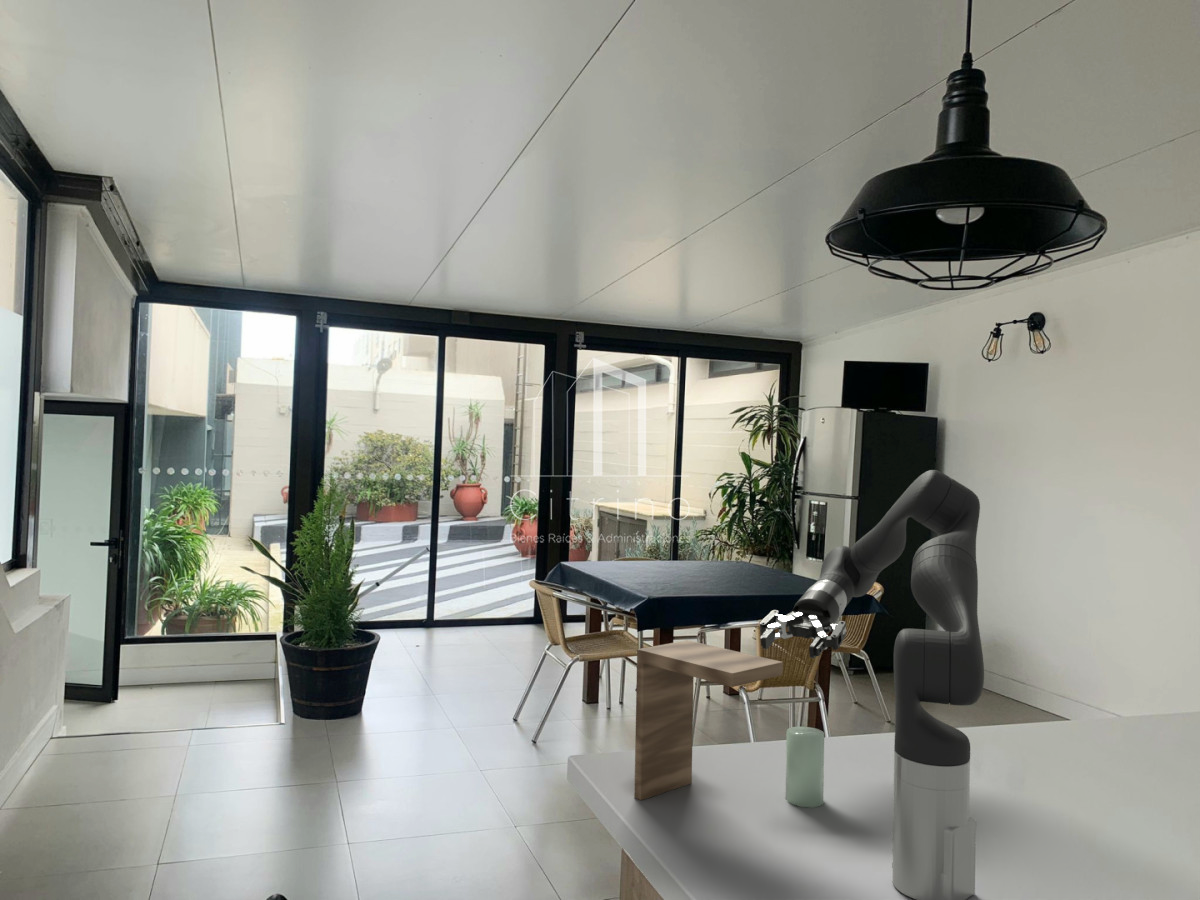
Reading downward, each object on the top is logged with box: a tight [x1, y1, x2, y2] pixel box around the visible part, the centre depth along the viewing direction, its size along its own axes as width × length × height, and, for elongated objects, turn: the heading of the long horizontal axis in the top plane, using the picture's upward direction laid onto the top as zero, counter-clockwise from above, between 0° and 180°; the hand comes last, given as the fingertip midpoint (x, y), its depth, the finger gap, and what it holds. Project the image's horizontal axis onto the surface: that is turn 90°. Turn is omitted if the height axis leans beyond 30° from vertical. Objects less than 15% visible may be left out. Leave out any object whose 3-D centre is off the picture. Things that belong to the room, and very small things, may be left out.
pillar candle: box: [785, 726, 825, 808], centre depth 143 cm, size 6×6×11 cm
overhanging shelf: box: [633, 639, 784, 801], centre depth 139 cm, size 20×12×24 cm, turn 41°
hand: (787, 648), depth 149 cm, fingers open, 8 cm apart
